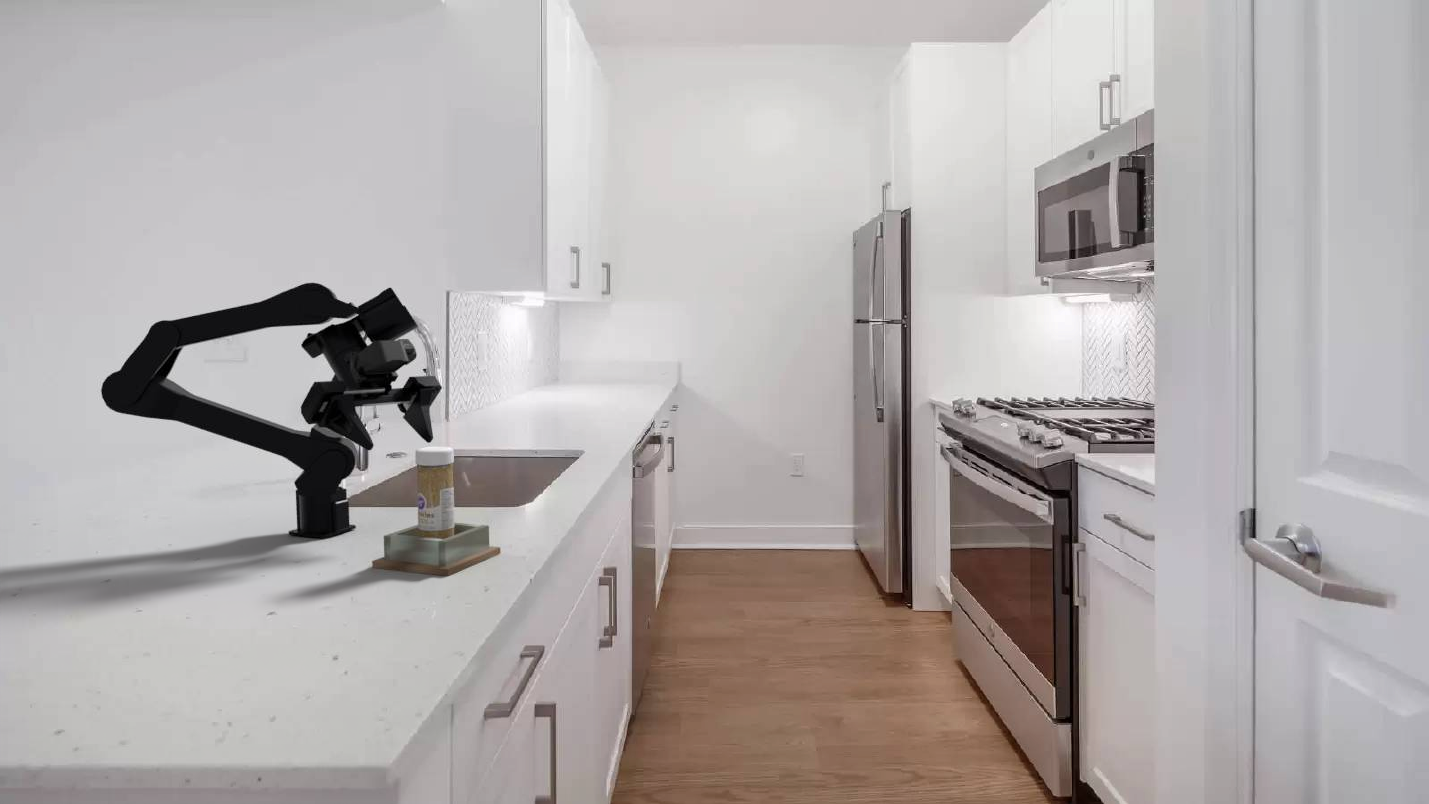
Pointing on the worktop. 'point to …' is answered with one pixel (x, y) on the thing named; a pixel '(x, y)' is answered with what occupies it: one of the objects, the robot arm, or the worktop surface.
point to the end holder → (436, 550)
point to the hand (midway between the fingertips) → (402, 444)
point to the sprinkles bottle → (435, 492)
